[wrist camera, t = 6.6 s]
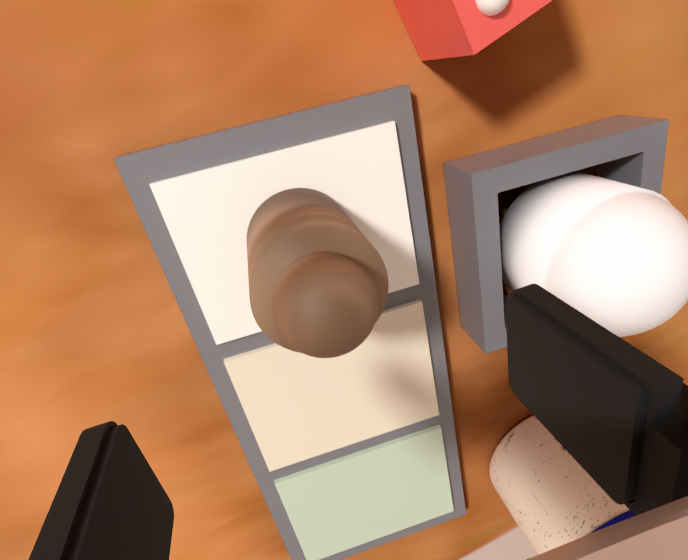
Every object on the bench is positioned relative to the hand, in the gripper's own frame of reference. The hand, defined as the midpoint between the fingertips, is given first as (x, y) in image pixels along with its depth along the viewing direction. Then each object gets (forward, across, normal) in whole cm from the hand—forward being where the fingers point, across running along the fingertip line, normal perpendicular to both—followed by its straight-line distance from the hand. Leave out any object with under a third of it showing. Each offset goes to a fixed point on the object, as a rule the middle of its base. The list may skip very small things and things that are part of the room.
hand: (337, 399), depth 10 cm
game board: (+13, -1, +10) cm, 16 cm away
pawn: (+12, -1, 0) cm, 12 cm away
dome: (+11, -14, +4) cm, 18 cm away
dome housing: (+12, -14, +4) cm, 19 cm away
